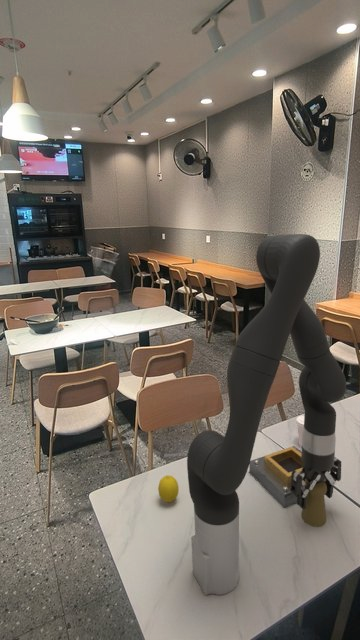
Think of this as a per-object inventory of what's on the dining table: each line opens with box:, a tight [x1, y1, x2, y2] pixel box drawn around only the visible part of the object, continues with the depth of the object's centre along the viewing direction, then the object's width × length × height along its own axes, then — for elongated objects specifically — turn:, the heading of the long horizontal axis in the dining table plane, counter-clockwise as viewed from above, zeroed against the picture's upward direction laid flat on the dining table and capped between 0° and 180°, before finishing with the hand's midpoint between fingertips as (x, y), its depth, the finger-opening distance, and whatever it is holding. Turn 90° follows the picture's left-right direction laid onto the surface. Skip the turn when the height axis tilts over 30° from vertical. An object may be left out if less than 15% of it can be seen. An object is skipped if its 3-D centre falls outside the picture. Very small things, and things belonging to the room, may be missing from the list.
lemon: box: [157, 474, 179, 503], centre depth 100 cm, size 6×6×8 cm
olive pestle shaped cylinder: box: [301, 480, 327, 528], centre depth 93 cm, size 6×6×11 cm
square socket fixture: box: [248, 445, 326, 509], centre depth 107 cm, size 19×16×6 cm
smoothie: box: [295, 415, 304, 449], centre depth 122 cm, size 6×6×14 cm
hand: (314, 501), depth 93 cm, fingers open, 8 cm apart
